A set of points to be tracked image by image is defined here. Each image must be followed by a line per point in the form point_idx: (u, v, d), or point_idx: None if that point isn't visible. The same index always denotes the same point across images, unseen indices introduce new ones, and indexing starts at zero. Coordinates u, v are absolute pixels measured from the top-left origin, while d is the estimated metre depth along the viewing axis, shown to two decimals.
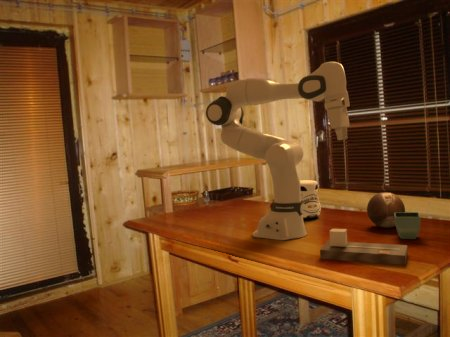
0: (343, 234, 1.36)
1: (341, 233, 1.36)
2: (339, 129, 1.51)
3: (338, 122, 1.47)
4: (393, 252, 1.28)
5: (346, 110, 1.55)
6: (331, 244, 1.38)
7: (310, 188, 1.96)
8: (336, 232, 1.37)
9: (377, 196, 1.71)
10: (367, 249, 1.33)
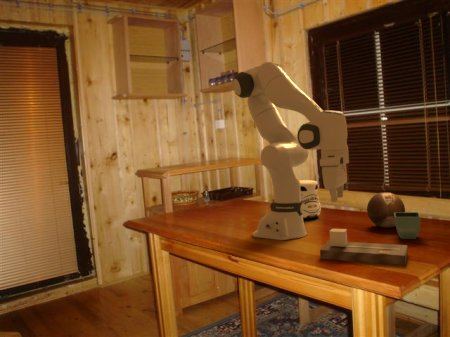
0: (343, 234, 1.36)
1: (341, 233, 1.36)
2: (334, 190, 1.31)
3: (333, 184, 1.28)
4: (393, 252, 1.28)
5: (344, 167, 1.35)
6: (331, 244, 1.38)
7: (310, 188, 1.96)
8: (336, 232, 1.37)
9: (377, 196, 1.71)
10: (367, 249, 1.33)
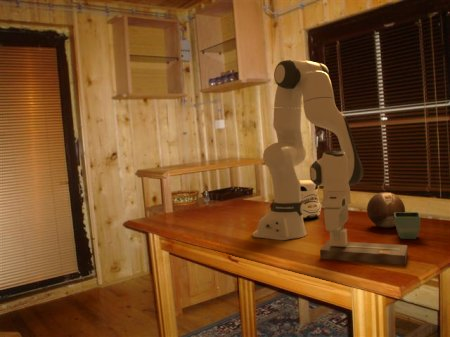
0: (343, 234, 1.36)
1: (341, 233, 1.36)
2: None
3: (335, 226, 1.29)
4: (393, 252, 1.28)
5: (346, 208, 1.36)
6: (331, 244, 1.38)
7: (310, 188, 1.96)
8: None
9: (377, 196, 1.71)
10: (367, 249, 1.33)
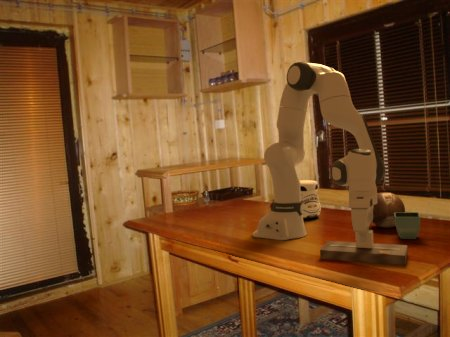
0: (370, 235, 1.32)
1: (367, 234, 1.32)
2: None
3: (363, 227, 1.25)
4: (393, 252, 1.28)
5: (372, 208, 1.32)
6: (357, 246, 1.34)
7: (310, 188, 1.96)
8: None
9: (377, 196, 1.71)
10: (367, 249, 1.33)
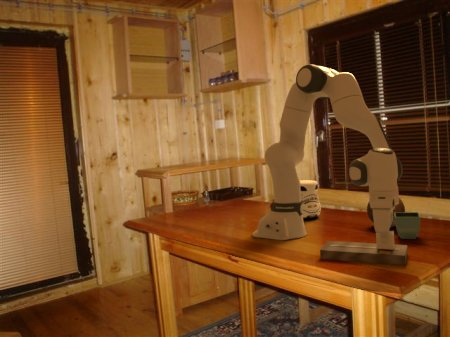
0: (391, 236, 1.29)
1: (389, 235, 1.30)
2: None
3: (385, 228, 1.22)
4: (393, 252, 1.28)
5: (394, 208, 1.29)
6: (378, 247, 1.31)
7: (310, 188, 1.96)
8: None
9: None
10: (367, 249, 1.33)
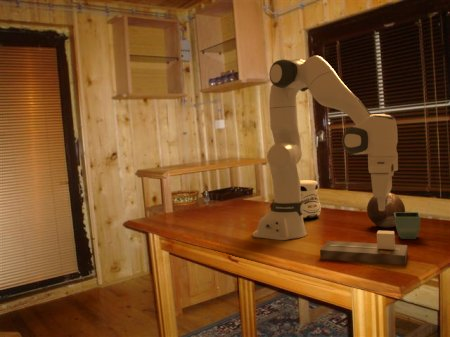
0: (392, 236, 1.29)
1: (389, 235, 1.29)
2: (382, 199, 1.25)
3: (384, 192, 1.21)
4: (393, 252, 1.28)
5: None
6: (378, 247, 1.31)
7: (310, 188, 1.96)
8: (384, 234, 1.30)
9: None
10: (367, 249, 1.33)
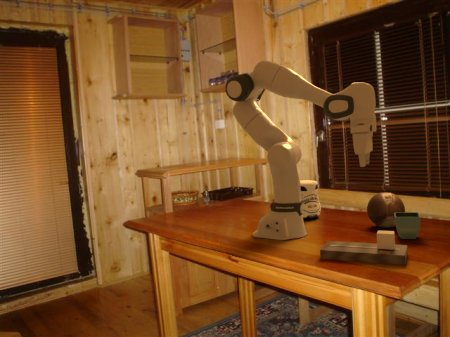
0: (392, 236, 1.29)
1: (389, 235, 1.29)
2: (363, 155, 1.43)
3: (363, 149, 1.39)
4: (393, 252, 1.28)
5: (372, 135, 1.46)
6: (378, 247, 1.31)
7: (310, 188, 1.96)
8: (384, 234, 1.30)
9: (377, 196, 1.71)
10: (367, 249, 1.33)
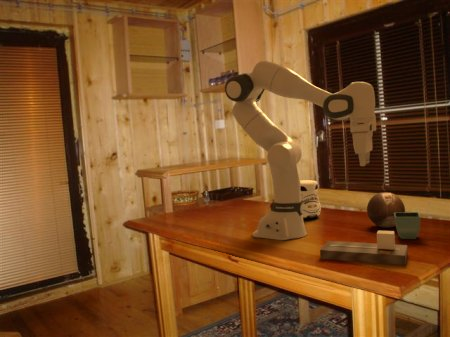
0: (392, 236, 1.29)
1: (389, 235, 1.29)
2: (363, 155, 1.43)
3: (363, 148, 1.39)
4: (393, 252, 1.28)
5: (372, 135, 1.46)
6: (378, 247, 1.31)
7: (310, 188, 1.96)
8: (384, 234, 1.30)
9: (377, 196, 1.71)
10: (367, 249, 1.33)
